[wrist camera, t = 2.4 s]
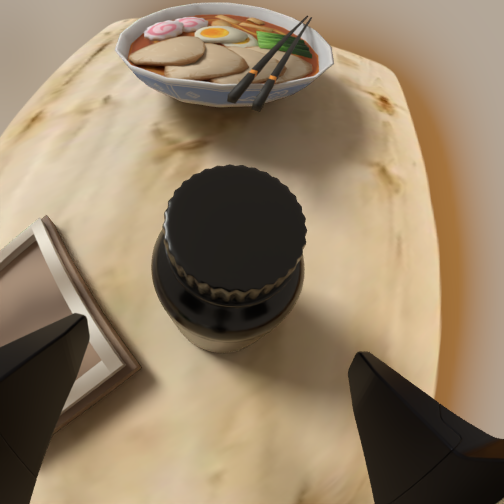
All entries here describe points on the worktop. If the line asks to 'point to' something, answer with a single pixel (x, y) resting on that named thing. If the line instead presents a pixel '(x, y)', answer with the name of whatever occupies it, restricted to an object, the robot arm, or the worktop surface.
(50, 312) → the beige square tray
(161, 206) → the worktop surface
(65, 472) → the worktop surface
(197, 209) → the supplement bottle
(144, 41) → the ramen bowl
